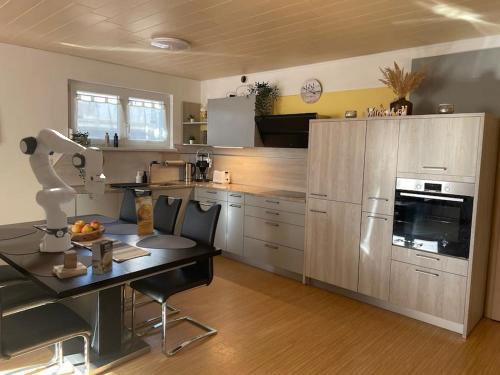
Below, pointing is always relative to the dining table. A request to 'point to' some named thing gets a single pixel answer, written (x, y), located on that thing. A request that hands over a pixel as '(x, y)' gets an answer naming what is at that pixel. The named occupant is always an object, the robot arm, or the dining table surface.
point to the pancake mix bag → (144, 215)
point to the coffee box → (102, 256)
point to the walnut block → (70, 259)
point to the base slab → (69, 270)
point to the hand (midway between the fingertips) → (94, 200)
